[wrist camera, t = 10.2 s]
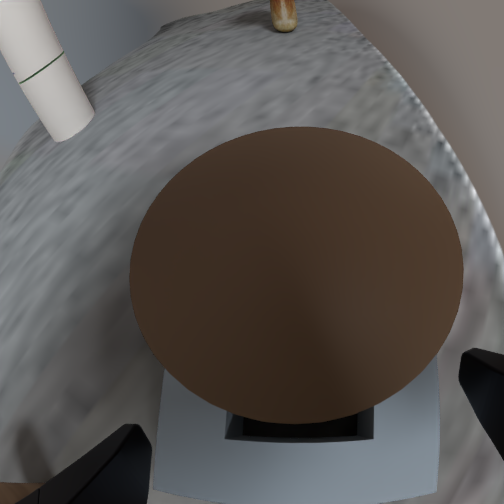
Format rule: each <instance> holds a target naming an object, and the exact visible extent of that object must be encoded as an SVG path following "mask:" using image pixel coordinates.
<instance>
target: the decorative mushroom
mask: <svg viewBox="0 0 504 504" xmlns="http://www.w3.org/2000/svg"><path fill="white" fill-rule="evenodd" d="M270 8H271V18H272V23H273V26H274V27H275V29H277V30H278V31H281V32H289V31H292V30H294V29H295V28H296V27H297V13H296V7H295V2H294V0H270Z"/></svg>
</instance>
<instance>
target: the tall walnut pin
mask: <svg viewBox="0 0 504 504" xmlns="http://www.w3.org/2000/svg"><path fill="white" fill-rule="evenodd" d="M463 271H464V268H463V257H462V249H461V245H460V240H459V236H458V233H457V229H456V227H455V224H454V222H453V219H452V217H451V214H450V212H449V211H448V209H447V207H446V205H445V204H444V202H443V200H442V198H441V197H440V195H439V194H438V193H437V191H436V190H435V189H434V187H433V186H432V185H431V184H430V182H429V181H428V180H427V179H426V178H425V177H424V176H423V175H422V174H421V173H420V172H419V171H418V170H417V169H416V168H414V167H413V166H412V165H411V164H410V163H408V162H407V161H406V160H405V159H403V158H402V157H400V156H399V155H397V154H396V153H394V152H392V151H391V150H389V149H387V148H385V147H383V146H381V145H379V144H377V143H375V142H373V141H371V140H368V139H365V138H363V137H360V136H357V135H354V134H350V133H347V132H343V131H338V130H333V129H327V128H317V127H285V128H274V129H269V130H264V131H258V132H255V133H251V134H247V135H244V136H241V137H238V138H235V139H233V140H230V141H228V142H225V143H223V144H221V145H219V146H217V147H215V148H213V149H211V150H209V151H208V152H206V153H204V154H203V155H201V156H199V157H198V158H196V159H195V160H194V161H192V162H191V163H190V164H188V165H187V166H186V167H184V168H183V169H182V170H181V171H180V172H179V173H178V174H177V175H175V176H174V177H173V178H172V179H171V180H170V181H169V182H168V184H167V185H166V186H165V187H164V188H163V189H162V191H161V192H160V193H159V194H158V196H157V197H156V198H155V200H154V201H153V203H152V204H151V206H150V207H149V209H148V211H147V213H146V215H145V217H144V219H143V221H142V223H141V225H140V228H139V230H138V233H137V236H136V239H135V242H134V246H133V251H132V255H131V262H130V276H129V279H130V293H131V300H132V305H133V309H134V313H135V317H136V320H137V322H138V325H139V327H140V330H141V332H142V335H143V337H144V339H145V340H146V342H147V344H148V345H149V347H150V349H151V351H152V352H153V354H154V355H155V357H156V358H157V359H158V360H159V362H160V363H161V364H162V365H163V366H164V368H165V369H166V370H167V371H168V372H169V373H170V374H171V375H172V376H173V377H174V378H175V379H176V380H177V381H179V382H180V383H181V384H182V385H183V386H184V387H185V388H187V389H188V390H189V391H191V392H192V393H194V394H195V395H197V396H199V397H200V398H202V399H203V400H205V401H207V402H208V403H210V404H212V405H214V406H216V407H219V408H221V409H223V410H226V411H228V412H231V413H233V414H235V415H239V416H243V417H247V418H251V419H255V420H259V421H263V422H272V423H283V424H305V423H318V422H325V421H330V420H334V419H338V418H343V417H347V416H351V415H353V414H356V413H358V412H361V411H363V410H366V409H368V408H370V407H373V406H375V405H377V404H379V403H381V402H383V401H384V400H386V399H388V398H389V397H391V396H392V395H394V394H396V393H397V392H399V391H400V390H402V389H403V388H404V387H405V386H406V385H408V384H409V383H410V382H411V381H412V380H413V379H415V378H416V377H417V376H418V375H419V374H420V373H421V372H422V371H423V370H424V369H425V368H426V366H427V365H428V364H429V363H430V362H431V360H432V359H433V358H434V357H435V355H436V354H437V353H438V351H439V350H440V348H441V346H442V345H443V343H444V341H445V340H446V338H447V336H448V334H449V333H450V330H451V328H452V325H453V323H454V320H455V317H456V315H457V312H458V308H459V304H460V299H461V294H462V289H463Z"/></svg>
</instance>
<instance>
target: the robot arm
mask: <svg viewBox="0 0 504 504" xmlns="http://www.w3.org/2000/svg"><path fill="white" fill-rule="evenodd" d="M458 377H459V382H460V385H461V387H462V388H463V390H464V392H465V394H466V396H467V398H468V400H469V402H470V404H471V406H472V408H473V410H474V412H475V414H476V416H477V418H478V420H479V421H480V423H481V425H482V426H483V428H484V429H485V431H486V433H487V434H488V436H489V437H490V439H491V441H492V442H493V444H494V445H495V447H496V449H497V450H498V452H499V454H500V455H501V457H502V459H503V460H504V355H503V354H499V353H495V352H490V351H486V350H482V349H478V348H472V349H470V350H468V351H465V352H464V353H463V354H462V356H461V362H460V369H459V375H458ZM151 456H152V447H151V443H150V442H149V440H148V438H147V437H146V435H145V433H144V432H143V430H142V428H141V427H140V426H139V425H138V424H124V425H123V426H121V427H120V428H119V429H117V430H116V431H115V432H114V433H112V434H111V435H110V436H108V437H107V438H106V439H105V440H103V441H102V442H101V443H99V444H98V445H97V446H95V447H94V448H93V449H91V450H90V451H89V452H88V453H86V454H85V455H84V456H82V457H81V458H79V459H78V460H77V461H75V462H74V463H73V464H71V465H70V466H69V467H67V468H66V469H65V470H63V471H62V472H60V473H59V474H58V475H56V476H55V477H53V478H52V479H51V480H49V481H48V482H46V483H45V484H43V485H42V486H41V487H40V488H38V489H36V490H35V491H33V492H32V493H30V494H29V495H27V496H26V497H24V498H23V499H21V500H20V501H18V502H16V503H14V504H147V499H148V492H149V480H150V467H151Z"/></svg>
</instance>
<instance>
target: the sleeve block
mask: <svg viewBox="0 0 504 504" xmlns="http://www.w3.org/2000/svg"><path fill="white" fill-rule="evenodd" d="M243 421H244V417H243V416H239V415H235V414H233V413H231V412H228V411H226V410H223V409H221V408H219V407H216V406H214V405H212V404H210V403H208V402H207V401H205V400H203V399H202V398H200V397H199V396H197V395H195V394H194V393H192V392H191V391H189V390H188V389H187V388H185V387H184V386H183V385H182V384H181V383H180V382H179V381H177V380H176V379H175V378H174V377H173V376H172V375H171V374H170V373H169V372H168V371H167V370H166V369H164V377H163V385H162V393H161V401H160V411H159V420H158V430H157V441H156V453H155V467H154V483H153V489H154V490H158V491H162V492H166V493H170V494H174V495H179V496H184V497H189V498H194V499H199V500H205V501H211V502H217V503H224V504H378V503H385V502H391V501H397V500H402V499H408V498H412V497H417V496H422V495H426V494H430V493H434V492H436V489H437V478H438V465H439V444H440V403H439V381H438V367H437V356H436V355H435V357H434V358H433V359H432V360H431V362H430V363H429V364H428V365H427V366H426V368H425V369H424V370H423V371H422V372H421V373H420V374H419V375H418V376H417V377H416V378H415V379H413V380H412V381H411V382H410V383H409V384H408V385H406V386H405V387H404V388H403V389H402V390H400V391H399V392H397V393H396V394H394V395H392V396H391V397H389V398H388V399H386V400H384V401H383V402H381V403H379V404H377V405H375V406H373V407H370V408H368V409H366V410H363V411H361V412H358V416H357V435H355V436H340V437H313V438H286V437H259V436H243Z"/></svg>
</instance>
